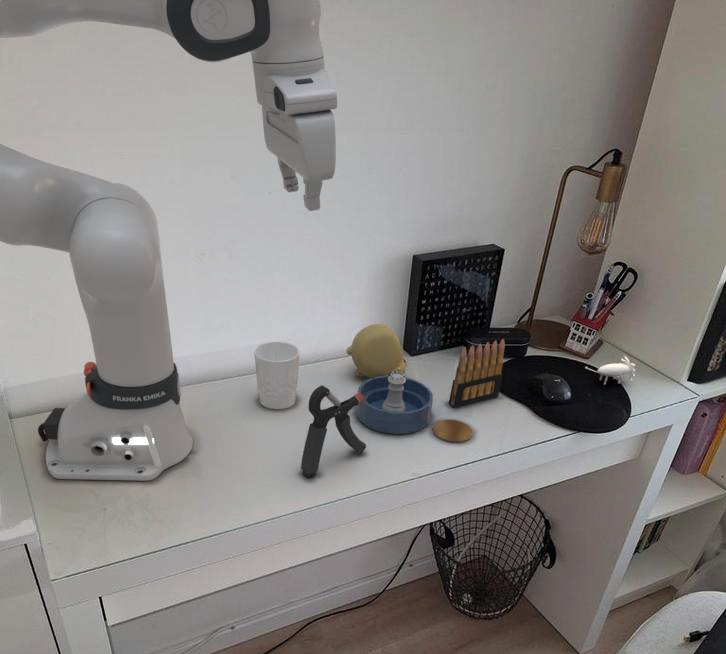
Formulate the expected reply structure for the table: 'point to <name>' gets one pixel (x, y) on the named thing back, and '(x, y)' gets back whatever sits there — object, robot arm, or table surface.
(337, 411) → the hand grip strengthener
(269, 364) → the white cup
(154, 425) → the robot arm
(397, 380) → the rook chess piece
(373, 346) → the khaki rounded piece
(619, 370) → the white animal figurine
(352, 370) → the table surface
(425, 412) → the bowl
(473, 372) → the ammunition clip
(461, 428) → the coaster
